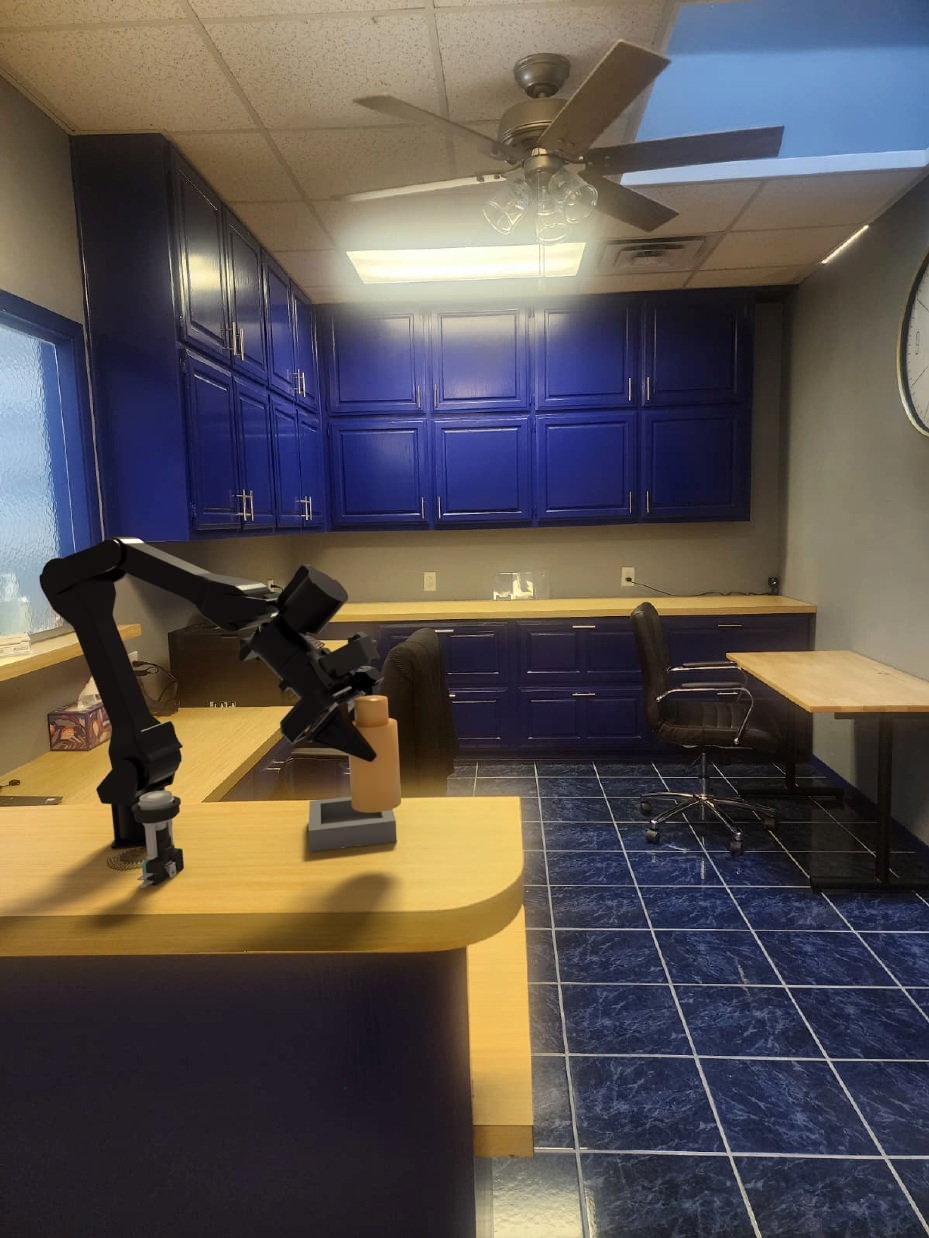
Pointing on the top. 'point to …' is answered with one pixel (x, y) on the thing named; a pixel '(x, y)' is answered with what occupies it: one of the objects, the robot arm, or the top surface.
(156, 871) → the push button
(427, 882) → the top surface
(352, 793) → the peach lotion bottle
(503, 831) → the top surface
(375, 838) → the socket
